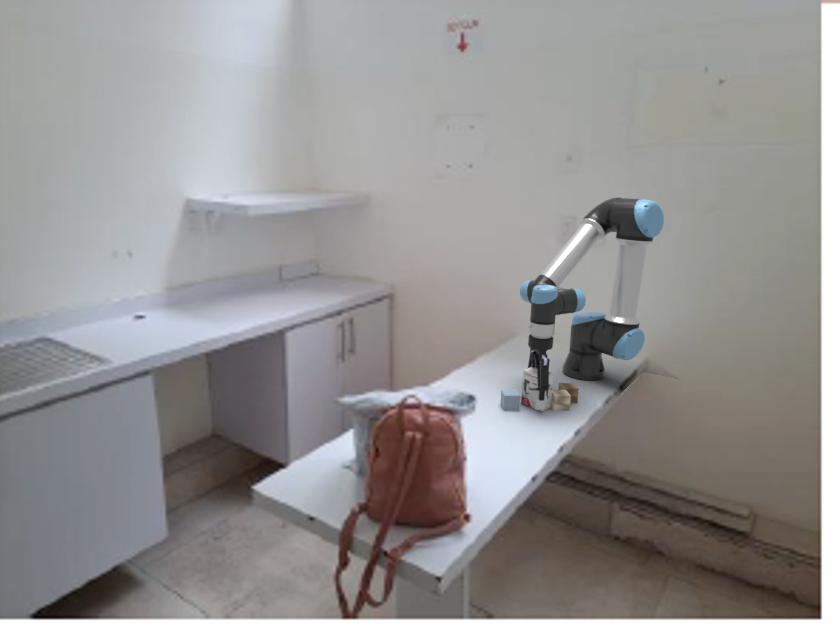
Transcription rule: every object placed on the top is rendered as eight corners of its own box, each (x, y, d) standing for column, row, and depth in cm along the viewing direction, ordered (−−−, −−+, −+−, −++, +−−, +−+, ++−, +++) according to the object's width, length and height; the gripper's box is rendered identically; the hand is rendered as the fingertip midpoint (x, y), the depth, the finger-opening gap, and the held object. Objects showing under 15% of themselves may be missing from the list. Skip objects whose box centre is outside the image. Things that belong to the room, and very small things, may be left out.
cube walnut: (572, 397, 193) (573, 383, 192) (577, 403, 188) (578, 388, 187) (557, 397, 192) (558, 382, 191) (562, 403, 188) (563, 388, 186)
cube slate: (515, 404, 186) (516, 389, 184) (519, 410, 181) (520, 395, 180) (500, 404, 185) (501, 389, 184) (503, 410, 180) (504, 395, 179)
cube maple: (564, 404, 187) (565, 389, 185) (569, 410, 182) (570, 395, 181) (549, 404, 186) (550, 389, 185) (553, 410, 182) (555, 395, 180)
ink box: (519, 403, 186) (522, 369, 183) (528, 399, 189) (531, 365, 186) (542, 412, 180) (545, 376, 177) (551, 408, 183) (554, 373, 180)
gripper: (521, 325, 189) (516, 389, 195) (538, 345, 168) (532, 417, 173) (543, 325, 190) (538, 389, 195) (563, 346, 168) (557, 417, 174)
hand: (535, 402), depth 184 cm, fingers closed on ink box, 9 cm apart
